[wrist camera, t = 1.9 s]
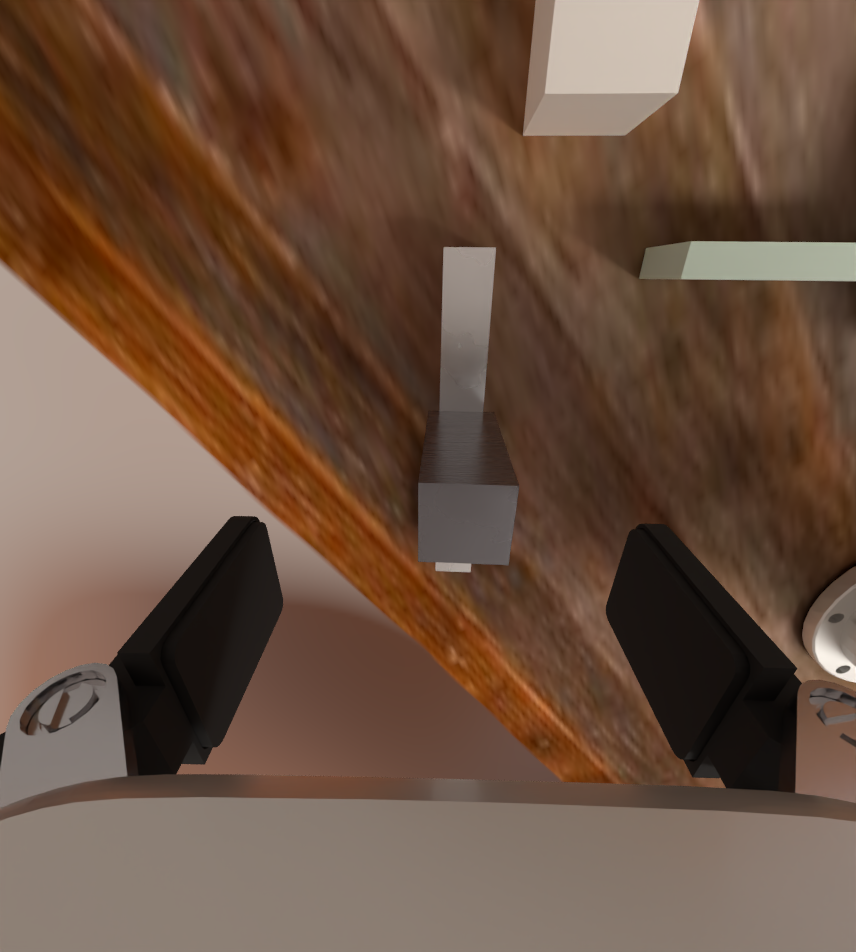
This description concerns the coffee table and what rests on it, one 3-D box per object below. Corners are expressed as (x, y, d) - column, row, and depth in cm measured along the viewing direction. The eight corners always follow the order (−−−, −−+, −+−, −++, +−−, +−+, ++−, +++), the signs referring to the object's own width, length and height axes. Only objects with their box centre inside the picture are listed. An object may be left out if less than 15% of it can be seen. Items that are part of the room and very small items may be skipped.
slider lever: (499, 252, 17) (554, 225, 8) (475, 540, 25) (491, 688, 16) (433, 251, 17) (417, 224, 8) (429, 539, 25) (418, 685, 16)
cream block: (652, -13, 13) (726, -118, 10) (624, 136, 15) (678, 93, 12) (536, -12, 13) (567, -115, 10) (522, 136, 15) (544, 93, 12)
